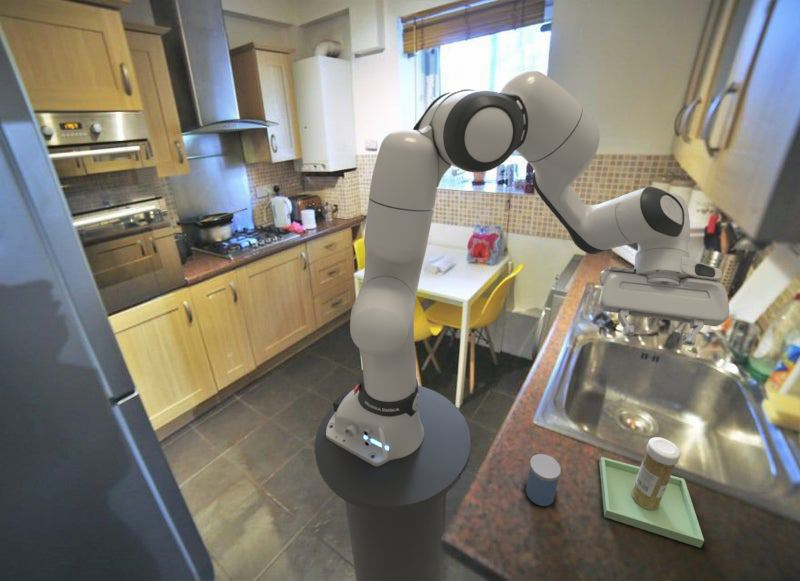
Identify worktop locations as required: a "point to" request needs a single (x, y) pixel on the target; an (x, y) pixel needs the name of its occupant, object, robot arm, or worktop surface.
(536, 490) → the blue tin
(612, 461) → the sage tray
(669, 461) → the sprinkles bottle
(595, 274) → the worktop surface
